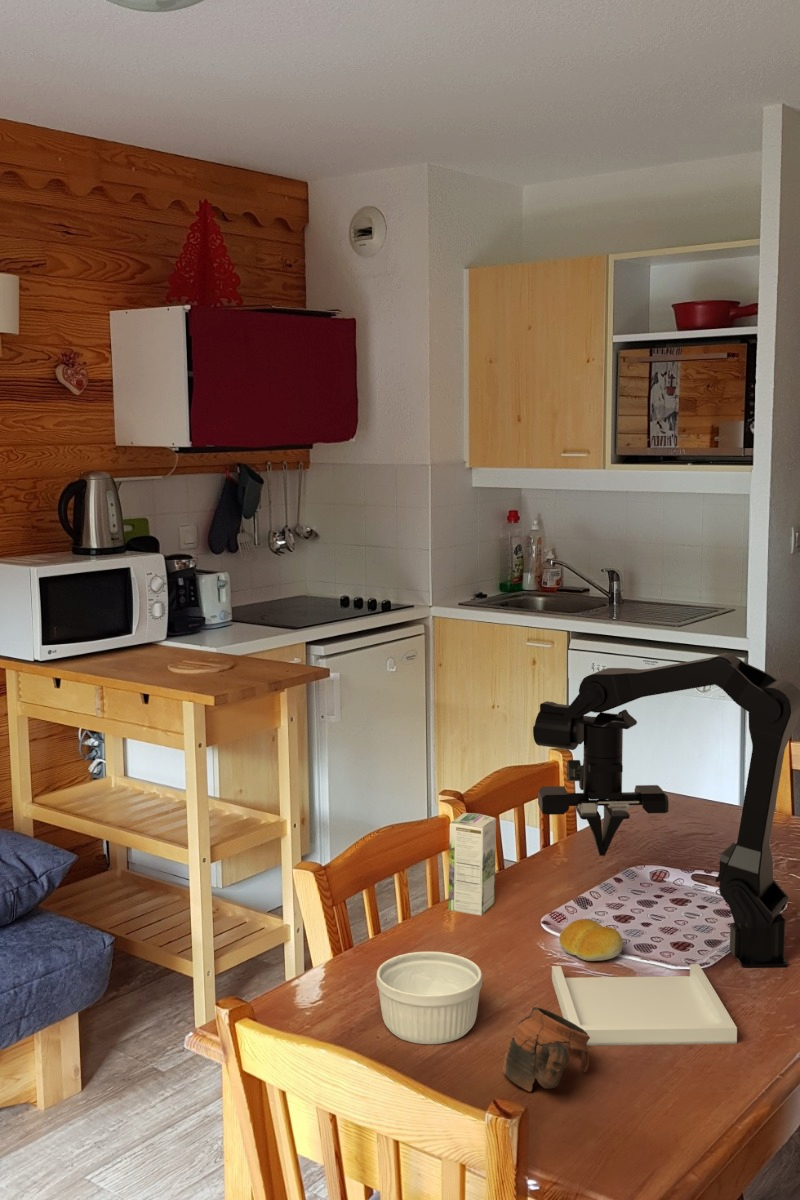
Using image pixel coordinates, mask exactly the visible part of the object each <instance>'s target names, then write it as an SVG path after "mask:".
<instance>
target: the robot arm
mask: <svg viewBox="0 0 800 1200" xmlns="http://www.w3.org/2000/svg"><path fill="white" fill-rule="evenodd" d="M708 686H717V687H718V688H720V689H722V691H724V692H725V694H726V695H727V696H729V698H731V700H733V702H734V703H735V704H737V705H738V706H739V707H741V708H742V709H744V710H746V712H748V730H749V735H750V740H751V746H752V750H751V754H750V756H751V757H750V762H749V767H748V768H749V769H748V775H747V778H746V779H747V780H746V786H745V787H746V788H745V793H744V798H743V803H742V804H743V805H742V811H741V817H740V823H739V827H738V828H739V829H738V835H737V841H736V843H735V842H732V843H731V844H730V845H729V846H728V847H727V848H725V850H724V851H723V852H722V853H720V855H719V871H718V874H717V877H716V878H715V880H714V882H716V883H718V882H719V883H718V884H719V885H718V890H719V895H720V897H722V899H723V900H724V902H725V903H726V904H727V905H728V907H729V910H730V913H731V916H732V919H733V922H731V923H730V928H729V929H730V932H729V951H730V953H731V954H732V955H733V957H734V958H735V959H736V960H737V963H739V964H740V966H741V967H742V968H777V967H778V968H784V967H788V966H789V961H788V960H787V959H786V958H785V939H786V938H785V934H786V933H785V932H786V919H785V918H784V917H783V916H782V914H781V912H782V911H784V910H785V908H786V906H787V903H788V902H789V899H790V898H789V895H788V894H787V893H786V891H784V890H783V889H782V887H781V886H780V885H779V884H778V883H777V882H776V881H775V879H774V864H773V855H772V850H771V848H770V847H771V846H770V839H771V834H772V827H773V822H774V816H775V809H776V804H777V797H778V793H779V785H780V780H781V776H782V775H781V774H782V769H783V762H784V756H785V751H786V747H787V746H788V743H789V741H790V739H791V737H792V735H793V733H794V731H795V728H796V726H797V724H798V721H799V719H800V689H799V688H798V686H797V685H796V684H794V683H792V682H791V681H788V680H781V679H780V680H778V678H776V677H774V676H773V675H771V674H770V673H768V672H766V671H764V670H761V669H760V668H758V667H756V666H753V665H751V664H749V663H747V662H745V661H744V660H742V659H741V658H739V657H737V656H736V655H735V654H733V653H730V652H723V653H720V654H719V655H717V656H711V657H705V658H700V659H695V660H689V661H685V662H684V661H682V662H678V663H673V664H668V665H663V666H657V667H652V668H650V667H649V668H646V669H645V668H644V669H643V668H642V669H639V668H638V669H637V668H630V667H608V668H604V669H602V670H599V671H596V672H594V673H591V674H588V675H587V676H585V677H583V679H582V680H581V682H580V683H579V688H578V695H576V697H575V699H573V701H572V702H571V703H570V704H562V703H557V702H554V701H547V700H546V701H544V702H541V703H540V704H539V712H538V713H537V715H536V718H535V720H534V721H535V722H534V725H533V727H532V734H533V735H532V736H533V740H534V743H535V744H536V745H537V746H540V747H548V748H554V749H561V750H569V751H574V750H576V748H578V746H579V745H582V744H583V761H582V762H583V763H582V764H581V760H580V759H569V760H566V780H567V782H578V784H579V789H580V791H583V792H568V791H567V790H566V787H565V786H562V785H559V786H557V785H556V786H554V785H553V786H550V785H549V786H541V787H540V789H538V793H537V804H538V807H539V809H540V811H541V813H542V814H543V815H550V816H552V815H553V816H554V815H556V816H557V815H565V814H566V813H567V812H568V811H569V810H570V807H575V810H576V812H577V813H578V816H579V818H580V820H586V822H587V823H588V824H589V827H590V831H591V834H592V836H593V840H594V842H595V846H596V849H597V853H598V855H599V856H600V857H602V856H603V857H604V856H606V854H607V851H608V849H609V847H610V845H611V843H612V840H613V838H614V836H615V834H616V832H617V831H618V829H619V828H620V826H621V825H622V822H623V821H624V820H628V819H631V818H630V817H631V816H630V813H629V811H628V809H629V808H630V807H629V806H641V808H642V809H643V810H644V811H645V812H647V814H667V813H669V805H670V804H669V803H670V802H669V798H668V797H669V796H668V795H667V794H666V792H665V791H664V790H663V789H662V787H661V786H659V785H658V784H644V785H643V784H640V785H639V784H638V785H635V788H634V791H633V792H631V791H630V792H629V791H628V792H623V771H624V769H623V768H624V767H623V747H624V746H623V744H624V743H623V742H624V741H623V740H624V739H623V737H624V736H623V735H624V730H629V729H631V728H633V727H634V726H636V725H638V721H637V719H635V718H634V717H633V716H632V715H631V714H630V713H629V712H628V710H627V709H623V710H621V711H619V712H618V713H609V712H607V711H609V710H612V709H614V708H618V707H621V706H623V705H625V704H628V703H631V702H633V701H636V700H638V699H640V698H644V697H651V696H656V695H662V694H669V693H674V692H679V691H684V690H685V691H687V690H693V689H697V688H705V687H708ZM591 712H592V713H596V714H597V715H596V716H591V715H588V714H589V713H591ZM599 806H602V807H603V822H602V816H601V814H600V812H599V811H598V809H599ZM602 823H603V824H602Z"/></svg>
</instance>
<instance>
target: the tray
mask: <svg viewBox="0 0 800 1200" xmlns="http://www.w3.org/2000/svg"><path fill="white" fill-rule="evenodd" d="M551 981H552V985H553V988H554V992H555V994H556V997H557V1002H558V1005H559V1008H560V1011H561V1015H562V1018H564V1019H566V1020H568V1021H570V1022H572V1023H573V1024H575V1025H577V1026H578V1027H580V1028H581V1029H583V1030H584V1031H585V1032H586V1033H587V1035H588V1036H589V1037H590V1039H589V1040H588V1042H587V1047H588V1046H590V1047H591V1046H592V1047H593V1046H595V1047H596V1046H642V1045H643V1046H647V1045H648V1046H650V1045H651V1046H658V1045H660V1046H661V1045H663V1046H664V1045H668V1046H670V1045H671V1046H672V1045H673V1046H674V1045H725V1044H726V1045H727V1044H728V1045H729V1044H731V1045H732V1044H733V1045H736V1044H738V1039H737V1038H738V1026H736V1024H735V1023H734V1020H733V1019H732V1017H731V1015H730V1013H729V1012H728V1011H727V1009H726V1006H724V1004H723V1002H722V1001H721V999H720V996H719V995H718V994H717V992H716V990H715V989H714V987H713V986H712V984H711V982H710V981H709V979H708V977H707V975H706V974H705V972H704V970H703V969H702V967H701V965H700V963H698V964H697V963H693V964H691V963H690V964H689V975H685V976H684V975H683V976H680V975H678V976H677V975H676V976H674V975H673V976H670V975H669V976H615V977H614V976H608V977H607V976H605V977H604V976H601V977H600V976H597V977H596V976H593V977H588V976H586V977H565V974H564V972H563V968H562V965H552V966H551Z"/></svg>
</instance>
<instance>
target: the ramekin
mask: <svg viewBox="0 0 800 1200" xmlns="http://www.w3.org/2000/svg"><path fill="white" fill-rule="evenodd" d="M482 986H483V974H482V971H481V968H480V967H479V966H478V964H476V962H474V961H472V960H471V959H468V958H466V957H463V956H462V955H461V956H460V955H458V954H454V953H449V952H444V951H415V952H408V953H404V954H400V955H397V956H394V957H391V958H389V959H388V960H386V961H384V962H383V963H381V964H380V966H379V967H378V968H377V970H376V987H377V988H378V995H379V1002H380V1010H381V1015H382V1019H383V1022H384V1023H383V1024H384V1025H385V1026H386V1028H387V1029H388V1030H389V1031H390V1033H392V1034H393V1035H395V1037H397V1038H399V1039H401V1040H403V1041H406V1042H410V1043H413V1044H421V1045H439V1044H440V1045H441V1044H446V1043H450V1042H454V1041H456V1040H459V1039H461V1038H462V1037H464V1036H465V1035H466V1034H467V1033H469V1031H470V1030H471V1029H472V1028H473V1026H474V1024H475V1023H476V1019H477V1015H478V1008H479V1006H478V1005H479V999H480V990H481V988H482Z"/></svg>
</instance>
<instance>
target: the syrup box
mask: <svg viewBox="0 0 800 1200" xmlns="http://www.w3.org/2000/svg"><path fill="white" fill-rule="evenodd" d="M496 832H497V818H496V817H494V816H490V815H486V814H481V813H476V812H475V813H474V812H472V813H471V812H463V813H462V814H460V815H459V816H458V817H457V818H454V820H453V821H451V822H450V823H449V839H448V840H449V844H448V845H449V847H448V848H449V849H448V851H449V853H448V855H449V856H448V857H449V858H448V861H449V862H448V863H449V864H448V910H449V911H452V912H456V913H457V912H458V913H463V914H468V915H474V916H475V915H476V916H481V917H482V916H483V915H484V914H486V912H487V911H488V910H489V909H490V908H491V907H492V906H494V905H495V902H496V901H495V899H496V898H495V897H496V891H495V890H496V852H497V850H496V849H497V846H496V843H497V842H496V841H497V837H496V836H497V835H496V834H497V833H496Z"/></svg>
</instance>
